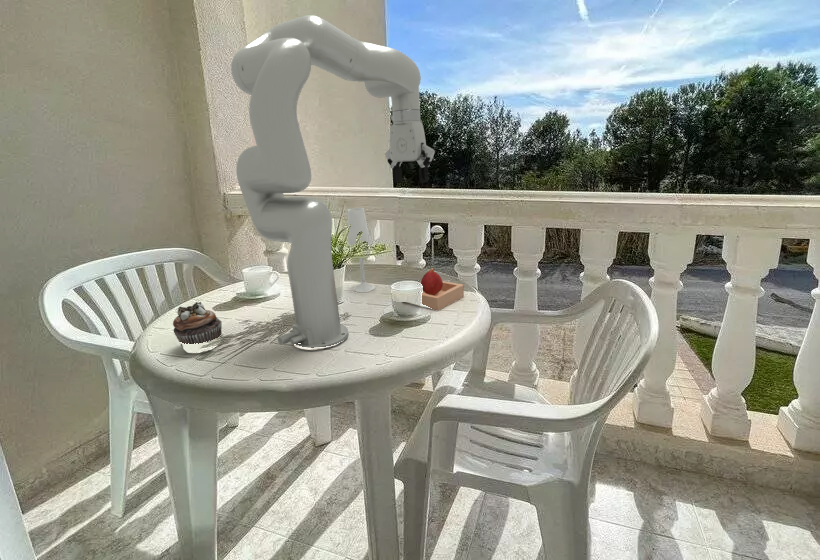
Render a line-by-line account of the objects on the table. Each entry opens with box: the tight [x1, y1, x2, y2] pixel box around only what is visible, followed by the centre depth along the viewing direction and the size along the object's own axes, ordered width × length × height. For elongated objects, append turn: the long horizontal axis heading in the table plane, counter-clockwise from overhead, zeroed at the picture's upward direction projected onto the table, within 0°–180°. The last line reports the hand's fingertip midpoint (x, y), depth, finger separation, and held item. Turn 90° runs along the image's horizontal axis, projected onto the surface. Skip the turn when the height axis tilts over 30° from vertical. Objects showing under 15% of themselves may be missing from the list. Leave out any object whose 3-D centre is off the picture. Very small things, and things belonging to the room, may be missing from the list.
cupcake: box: [172, 301, 223, 344], centre depth 94 cm, size 10×10×10 cm
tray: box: [419, 280, 465, 312], centre depth 114 cm, size 12×12×3 cm
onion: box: [420, 268, 443, 296], centre depth 113 cm, size 6×6×8 cm
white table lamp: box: [347, 207, 376, 293], centre depth 124 cm, size 7×7×24 cm
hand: (410, 182), depth 120 cm, fingers open, 9 cm apart
